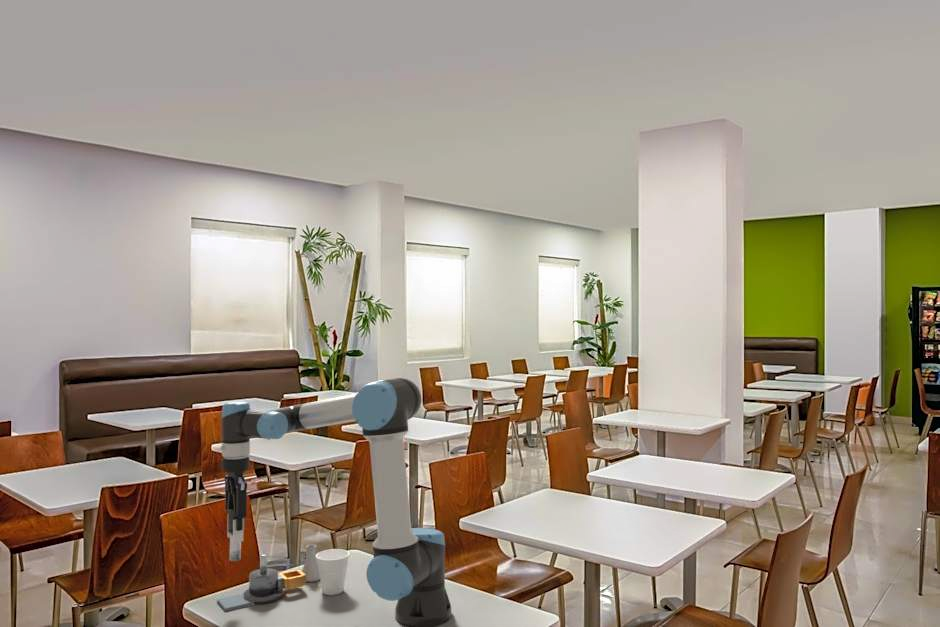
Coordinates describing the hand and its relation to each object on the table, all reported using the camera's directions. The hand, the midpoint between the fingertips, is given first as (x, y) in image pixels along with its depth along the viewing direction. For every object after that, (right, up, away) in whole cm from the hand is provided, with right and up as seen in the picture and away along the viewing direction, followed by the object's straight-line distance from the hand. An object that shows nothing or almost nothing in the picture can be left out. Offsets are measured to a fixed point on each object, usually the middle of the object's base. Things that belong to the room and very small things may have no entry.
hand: (235, 538), depth 200 cm
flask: (+17, -19, +19) cm, 32 cm away
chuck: (+10, -16, +7) cm, 20 cm away
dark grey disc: (+7, -18, +4) cm, 20 cm away
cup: (+26, -18, +8) cm, 33 cm away
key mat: (0, -18, 0) cm, 18 cm away
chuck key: (0, -6, -1) cm, 6 cm away
